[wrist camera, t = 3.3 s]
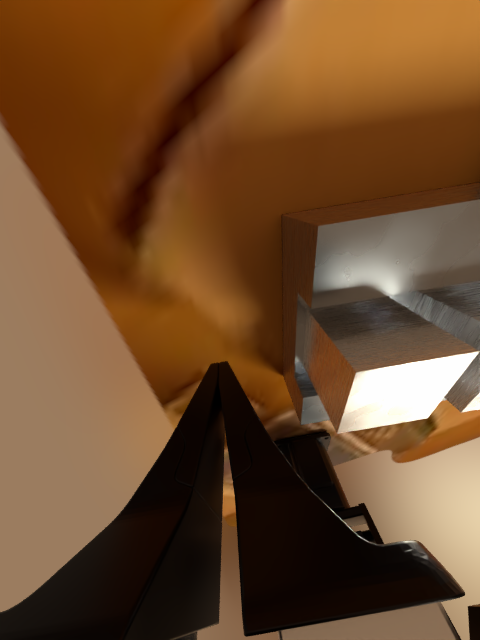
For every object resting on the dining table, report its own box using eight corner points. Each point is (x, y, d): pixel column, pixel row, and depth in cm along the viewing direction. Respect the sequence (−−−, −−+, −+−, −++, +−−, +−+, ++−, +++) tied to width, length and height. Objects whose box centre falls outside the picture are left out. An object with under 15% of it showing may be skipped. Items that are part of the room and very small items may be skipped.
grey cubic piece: (367, 354, 12) (427, 418, 8) (302, 365, 12) (337, 433, 8) (386, 295, 9) (479, 351, 6) (307, 309, 9) (356, 372, 6)
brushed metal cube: (455, 339, 12) (550, 396, 8) (391, 350, 12) (461, 412, 8) (495, 277, 9) (646, 323, 6) (416, 290, 9) (525, 343, 6)
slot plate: (424, 352, 16) (478, 394, 13) (283, 376, 16) (300, 424, 13) (523, 174, 9) (694, 164, 6) (281, 214, 9) (318, 226, 6)
